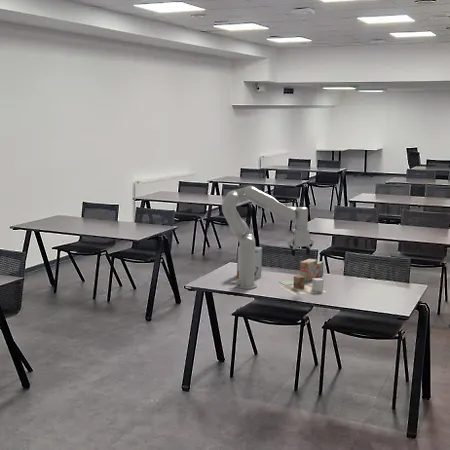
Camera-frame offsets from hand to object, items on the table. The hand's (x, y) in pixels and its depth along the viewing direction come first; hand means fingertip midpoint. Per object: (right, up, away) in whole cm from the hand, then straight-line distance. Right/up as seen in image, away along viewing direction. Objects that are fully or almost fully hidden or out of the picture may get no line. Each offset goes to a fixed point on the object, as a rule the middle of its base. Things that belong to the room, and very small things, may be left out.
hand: (300, 255), depth 377 cm
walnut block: (-1, -20, +3) cm, 20 cm away
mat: (-5, -19, +14) cm, 24 cm away
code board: (+2, -21, 0) cm, 21 cm away
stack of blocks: (+11, -17, +31) cm, 36 cm away
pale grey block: (+10, -21, -2) cm, 24 cm away
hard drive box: (-30, -16, +29) cm, 45 cm away
